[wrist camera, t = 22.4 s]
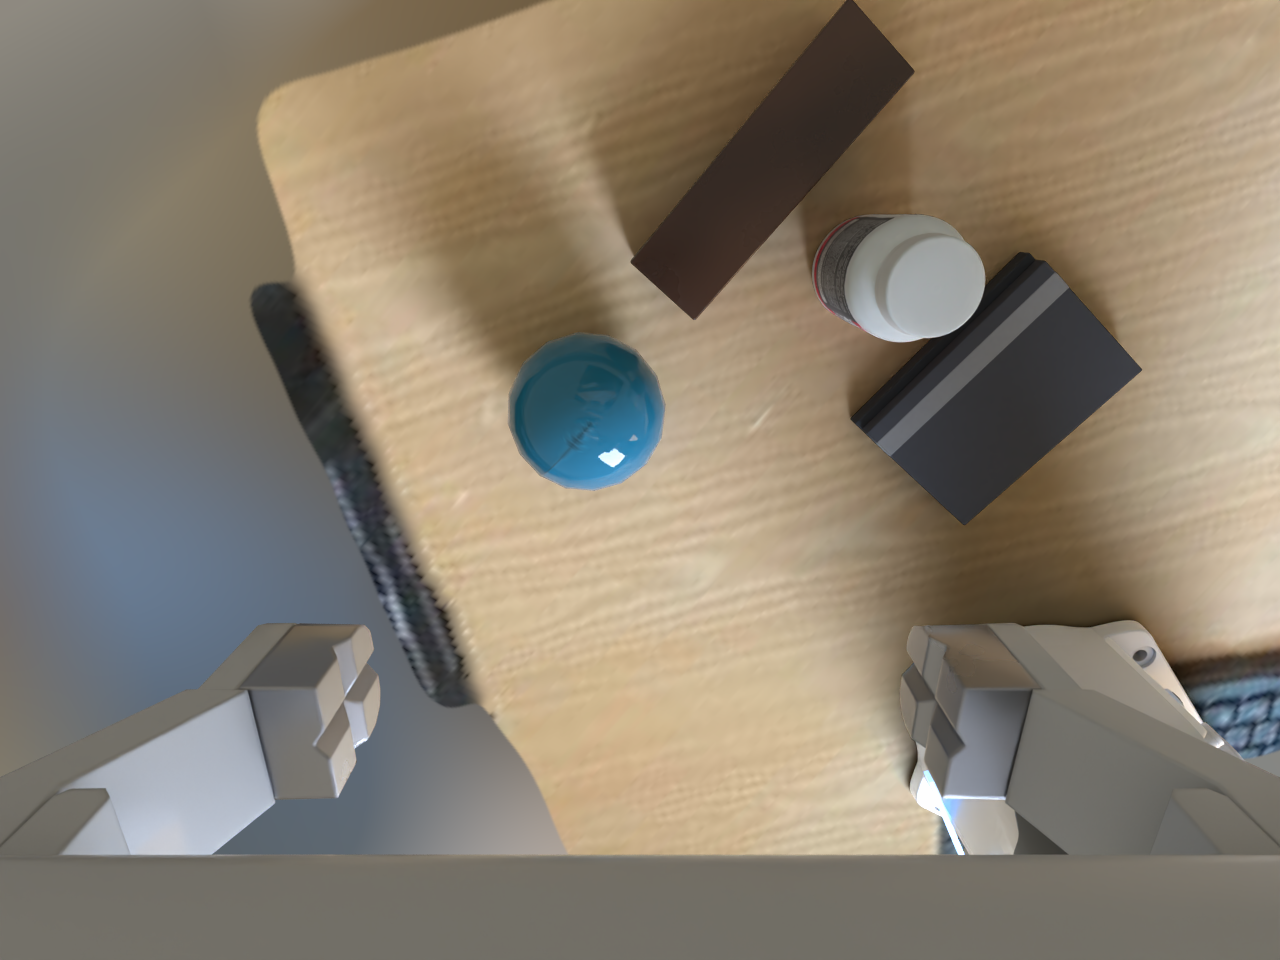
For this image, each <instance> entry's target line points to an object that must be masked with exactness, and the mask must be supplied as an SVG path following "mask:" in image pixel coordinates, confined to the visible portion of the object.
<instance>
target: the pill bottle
mask: <svg viewBox="0 0 1280 960" xmlns="http://www.w3.org/2000/svg"><path fill="white" fill-rule="evenodd" d="M812 281H813V286H814V290H815V293H816V295H817V297H818V299H819V300H820V302H821V303H822V305H823V306H824V307H825V308H826V309H827V310H828V311H830V312H831V313H832V314H834V315H836V316H837V317H839V318H841V319H842V320H845V321H846V322H848V323H850V324H852V325H854V326H856V327H858V328H860V329H862V330H864V331H866V332H868V333H869V334H871V335H873V336H875V337H877V338H880V339H883V340H887V341H891V342H910V341H915V340H919V339H922V338H934V337H940V336H943V335H946V334H949V333H951V332H952V331H954V330H956V329H958V328H959V327H960V326H962V325H963V324H964V323H965V322H966V321H967V320H968V319H969V318H970V317H971V316H972V315H973V313H974V312H975V311H976V309H977V307H978V305H979V303H980V301H981V299H982V296H983V292H984V288H985V271H984V266H983V263H982V260H981V258H980V256H979V255H978V253H977V252H976V251H975V249H974V248H973V247H972V246H971V245H970V244H968V243H967V242H965V241H964V239H963V237H962V236H961V235H960V234H959V232H958V231H957V230H956V229H955V228H954V227H952V226H951V225H950V224H948V223H947V222H945V221H943V220H941V219H939V218H935V217H932V216H928V215H922V214H895V215H892V214H889V215H885V214H871V215H861V216H857V217H853V218H850V219H848V220H846V221H844V222H842V223H840V224H839V225H837V226H836V227H835V228H834V229H833V230H832V231H831V232H829V233H828V235H827V236H826V237H825V238H824V240H823V241H822V243H821V244H820V246H819V247H818V249H817V252H816V255H815V258H814V261H813V266H812Z"/></svg>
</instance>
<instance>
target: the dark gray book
mask: <svg viewBox="0 0 1280 960" xmlns="http://www.w3.org/2000/svg"><path fill="white" fill-rule="evenodd" d="M1141 371H1142V369H1141V368H1140V367H1139V365H1138V364H1137V363H1136V362H1135V361H1134V360H1133V359H1132V358H1131V356H1130V355H1129V354H1128V353H1127V352H1126V351H1125V350H1124V349H1123V348H1122V346H1121V345H1120V344H1119V343H1118V342H1117V341H1116V340H1115V339H1114V337H1113V336H1112V335H1111V334H1110V333H1109V332H1108V331H1107V330H1106V328H1105V327H1104V326H1103V325H1102V324H1101V323H1100V322H1099V321H1098V319H1097V318H1096V317H1095V316H1094V315H1093V314H1092V313H1091V312H1090V311H1089V309H1088V308H1087V307H1086V306H1085V305H1084V304H1083V303H1082V302H1081V300H1080V299H1079V298H1078V297H1077V296H1076V295H1075V294H1074V293H1073V291H1072V290H1071V289H1070V288H1069V286H1068V285H1067V284H1066V283H1065V282H1064V280H1063V279H1062V278H1061V277H1060V276H1059V275H1058V274H1057V273H1056V272H1055V271H1054V270H1053V269H1052V268H1051V267H1050V266H1049V265H1048V263H1047V262H1046V261H1041V260H1035V259H1034V257H1033V256H1032V255H1031V254H1030V253H1024V252H1020V253H1018V254H1017V255H1016V256H1015V257H1014V258H1013V259H1012V260H1011V261H1010V262H1009V263H1008V264H1007V265H1006V266H1005V267H1004V268H1003V269H1002V270H1001V271H1000V272H999V273H998V274H997V275H996V276H995V277H994V278H993V279H992V280H991V281H990V282H989V283H988V284H987V285H986V286H985V288H984V292H983V296H982V299H981V301H980V303H979V305H978V307H977V309H976V311H975V312H974V313H973V315H972V316H971V317H970V318H969V319H968V320H967V321H966V322H965V323H964V324H963V325H962V326H960V327H959V328H958V329H956V330H954V331H952V332H951V333H949V334H946V335H943V336H940V337H934V338H932V339H931V340H930V341H929V342H928V343H927V344H926V345H925V346H924V347H923V348H922V349H921V350H920V351H919V352H918V353H917V354H916V355H915V356H914V357H913V358H912V359H911V360H910V361H909V362H908V363H906V364H905V365H904V366H903V367H902V368H901V369H900V370H899V371H898V372H897V373H896V374H895V375H894V376H893V377H892V378H891V379H890V380H889V381H888V382H887V383H886V384H885V385H884V386H883V387H882V388H881V389H880V390H879V391H878V392H877V393H876V394H875V395H874V396H873V397H872V398H871V399H870V400H869V401H868V402H867V403H866V404H865V405H864V406H863V407H862V408H861V409H860V410H859V411H858V412H857V413H856V414H855V415H854V416H853V417H852V418H851V420H852V421H853V422H854V423H855V424H856V425H857V426H858V427H859V428H860V429H861V430H862V431H863V432H864V433H865V434H866V435H868V436H869V437H870V438H871V439H872V441H873V442H875V443H876V444H877V445H878V446H879V447H880V448H881V449H882V450H883V451H884V452H885V453H886V454H887V455H888V456H890V457H891V458H892V459H893V460H894V461H895V462H897V463H898V464H899V465H900V466H901V467H902V468H903V469H904V470H905V471H906V472H907V473H908V474H909V475H910V476H912V477H913V478H914V479H915V480H916V481H917V482H918V483H919V484H920V485H921V486H922V487H923V488H924V489H926V490H927V491H928V492H929V493H930V494H931V495H932V496H933V497H934V498H935V499H936V500H937V501H938V502H939V503H941V504H942V505H943V506H944V507H945V508H946V509H947V510H948V511H949V512H950V513H951V514H952V515H953V516H955V517H956V518H957V519H958V520H959V521H960V522H961V523H962V524H963V525H966V524H967V523H968V522H969V521H970V520H971V519H973V518H974V517H975V516H976V515H977V514H978V513H979V512H981V511H982V510H983V509H984V508H985V507H986V506H987V505H989V504H990V503H991V502H992V501H993V500H994V499H995V498H997V497H998V496H999V495H1000V494H1001V493H1002V492H1003V491H1005V490H1006V489H1007V488H1008V487H1009V486H1010V485H1011V484H1013V483H1014V482H1015V481H1016V480H1017V479H1018V478H1019V477H1021V476H1022V475H1023V474H1024V473H1025V472H1026V471H1027V470H1029V469H1030V468H1031V467H1032V466H1033V465H1034V464H1035V463H1037V462H1038V461H1039V460H1040V459H1041V458H1042V457H1043V456H1045V455H1046V454H1047V453H1048V452H1049V451H1050V450H1051V449H1053V448H1054V447H1055V446H1056V445H1057V444H1058V443H1059V442H1061V441H1062V440H1063V439H1064V438H1065V437H1066V436H1067V435H1069V434H1070V433H1071V432H1072V431H1073V430H1074V429H1075V428H1077V427H1078V426H1079V425H1080V424H1081V423H1082V422H1083V421H1085V420H1086V419H1087V418H1088V417H1089V416H1090V415H1091V414H1093V413H1094V412H1095V411H1096V410H1097V409H1098V408H1099V407H1101V406H1102V405H1103V404H1104V403H1105V402H1106V401H1107V400H1109V399H1110V398H1111V397H1112V396H1113V395H1114V394H1115V393H1117V392H1118V391H1119V390H1120V389H1121V388H1122V387H1123V386H1125V385H1126V384H1127V383H1128V382H1129V381H1130V380H1131V379H1133V378H1134V377H1135V376H1136V375H1137V374H1138V373H1139V372H1141Z"/></svg>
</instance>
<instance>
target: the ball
mask: <svg viewBox="0 0 1280 960" xmlns="http://www.w3.org/2000/svg"><path fill="white" fill-rule="evenodd" d="M665 406H666V404H665V401H664V398H663V394H662V391H661V388H660V384H659V381H658V377H657V375H656V373H655V372H654V371H653V370H652V368H651V367H650V366H649V365H648V364H647V362H646V361H645V360H644V359H643V357H642V356H641V355H640V354H639V353H638V351H637V350H636V349H634V348H632V347H630V346H628V345H627V344H625V343H623V342H621V341H619V340H617V339H615V338H613V337H612V336H610V335H603V334H593V333H583V332H577V333H574V334H570V335H567V336H564V337H561V338H557V339H554V340H551V341H548V342H546V343H545V344H544V345H543V346H542V347H541V348H539V349H538V350H537V351H536V352H535V353H534V354H532V355H531V356H530V357H529V358H528V359H527V360H525V361H524V362H523V364H522V366H521V368H520V370H519V372H518V374H517V376H516V378H515V380H514V383H513V385H512V387H511V389H510V392H509V402H508V426H509V428H510V431H511V433H512V436H513V439H514V441H515V444H516V446H517V449H518V452H519V454H520V455H521V456H522V457H523V458H524V459H525V460H526V462H527V463H528V464H529V465H530V466H531V467H532V468H533V469H534V470H535V471H536V472H537V473H538V474H539V475H540V476H541V477H543V478H546V479H548V480H550V481H552V482H554V483H556V484H558V485H560V486H562V487H564V488H568V489H579V490H590V491H595V490H599V489H602V488H606V487H609V486H613V485H616V484H620V483H622V482H624V481H625V480H626V479H628V478H629V477H630V476H631V475H633V474H634V473H635V472H637V471H638V470H639V469H641V468H642V467H643V466H644V465H646V464H647V462H648V461H649V459H650V457H651V455H652V454H653V452H654V450H655V448H656V447H657V445H658V443H659V441H660V440H661V437H662V432H663V423H664V415H665Z"/></svg>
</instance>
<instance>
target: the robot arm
mask: <svg viewBox="0 0 1280 960" xmlns="http://www.w3.org/2000/svg"><path fill="white" fill-rule="evenodd" d="M373 650H374V647H373V642H372V638H371V633H370V630H369V629H368V628H367V627H366V626H365V625H350V624H301V623H300V624H296V623H267V624H263V625H258V626H257V627H256V628H255V629H254V630H253V631H252V633H250V635H249V636H248V637H247V638H246V639H245V640H244V641H243V642H242V643H241V644H240V645H239V646H238V647H237V648H236V649H235V650H234V651H233V653H232V654H231V655H230V656H229V657H228V658H227V659H226V660H225V661H224V662H223V663H222V664H221V665H220V666H219V667H218V668H217V670H216V671H215V672H214V673H213V674H212V675H211V676H210V677H209V678H208V679H207V680H206V681H205V682H204V683H203V684H202V685H201V686H200V688H199V689H197V690H185V691H182V692H180V693H178V694H176V695H174V696H172V697H170V698H168V699H165V700H163V701H161V702H159V703H157V704H155V705H153V706H151V707H148V708H146V709H144V710H142V711H140V712H138V713H136V714H133V715H131V716H129V717H127V718H125V719H123V720H121V721H119V722H116V723H114V724H112V725H110V726H108V727H106V728H104V729H102V730H100V731H97V732H95V733H93V734H91V735H89V736H87V737H85V738H82V739H80V740H78V741H76V742H74V743H72V744H70V745H68V746H65V747H63V748H61V749H59V750H57V751H55V752H53V753H51V754H48V755H46V756H44V757H42V758H40V759H38V760H36V761H34V762H31V763H29V764H27V765H25V766H23V767H21V768H19V769H17V770H15V771H12V772H10V773H8V774H6V775H4V776H2V777H0V960H1280V777H1278V776H1276V775H1273V774H1271V773H1269V772H1267V771H1265V770H1263V769H1261V768H1259V767H1257V766H1254V765H1252V764H1250V763H1248V762H1246V761H1244V760H1243V758H1242V757H1241V756H1240V755H1239V754H1238V752H1237V751H1236V750H1235V749H1234V748H1233V747H1232V746H1231V745H1230V744H1229V743H1228V742H1227V741H1226V740H1224V739H1223V738H1222V737H1221V736H1219V735H1218V734H1217V733H1216V731H1215V730H1214V729H1213V728H1212V727H1210V726H1209V725H1208V724H1207V723H1205V722H1203V721H1202V719H1201V718H1200V716H1199V714H1198V713H1197V711H1196V709H1195V708H1194V706H1193V704H1192V703H1191V701H1190V699H1189V698H1188V696H1187V694H1186V693H1185V691H1184V689H1183V687H1182V686H1181V684H1180V682H1179V681H1178V679H1177V677H1176V676H1175V674H1174V672H1173V671H1172V669H1171V667H1170V666H1169V664H1168V662H1167V661H1166V659H1165V657H1164V656H1163V654H1162V652H1161V650H1160V649H1159V647H1158V645H1157V644H1156V642H1155V640H1154V639H1153V637H1152V635H1151V634H1150V633H1149V632H1148V631H1147V630H1146V629H1145V628H1144V627H1143V626H1142V625H1141V624H1140V623H1139V622H1137V621H1133V620H1123V621H1117V622H1111V623H1107V624H1102V625H1098V626H1094V627H1088V628H1081V627H1070V626H1061V625H1032V626H1025V627H1023V626H1021V625H1018V624H1016V623H995V624H973V625H931V626H913V627H912V629H911V631H910V633H909V636H908V641H907V647H906V651H907V652H908V654H909V656H910V657H911V659H912V661H913V662H914V663H913V664H912V665H911V666H910V667H909V668H908V669H907V670H906V671H905V672H904V673H903V674H902V678H901V686H900V705H901V714H902V717H903V720H904V724H905V727H906V729H907V731H908V733H909V735H910V737H911V739H912V740H914V741H915V742H916V745H917V751H918V762H917V764H916V767H915V770H914V772H913V775H912V779H911V783H910V791H911V793H912V795H913V796H914V798H915V800H916V801H917V803H918V804H919V805H920V806H922V807H923V808H925V809H927V810H930V811H932V812H934V813H936V814H938V815H940V816H942V817H943V819H944V822H945V824H946V826H947V829H948V831H949V834H950V836H951V838H952V841H953V843H954V846H955V848H956V850H957V852H958V854H959V855H211V854H213V853H214V852H215V851H216V850H218V849H219V848H220V847H221V846H223V845H224V844H225V843H226V842H228V841H229V840H230V839H231V838H232V837H234V836H235V835H236V834H237V833H239V832H240V831H241V830H242V829H244V828H245V827H246V826H247V825H249V824H250V823H251V822H252V821H253V820H255V819H256V818H257V817H258V816H260V815H261V814H262V813H263V812H265V811H266V810H267V809H268V808H269V807H271V806H272V805H273V804H274V803H275V800H283V799H318V798H338V796H339V794H340V792H341V791H342V789H343V787H344V785H345V783H346V781H347V779H348V777H349V775H350V773H351V772H352V770H353V768H354V766H355V764H356V755H355V750H354V748H356V747H357V746H359V745H360V744H362V743H363V742H365V741H366V740H368V739H369V737H370V735H371V733H372V731H373V729H374V727H375V724H376V720H377V716H378V712H379V707H380V684H379V677H378V674H377V673H376V672H375V671H374V670H373V669H372V668H371V667H370V666H369V665H368V664H367V663H366V662H367V661H368V659H369V657H370V656H371V654H372V652H373ZM1135 652H1136V653H1135ZM1134 653H1135V654H1134ZM954 829H955V831H956V833H957V834H958V836H959V838H960V839H961V841H962V843H963V844H964V846H965V848H966V849H967V851H968V853H969V854H970V855H964V853H963V850H962V848H961V845H960V843H959V841H958V838H957V836H956V833H955V831H954Z"/></svg>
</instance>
